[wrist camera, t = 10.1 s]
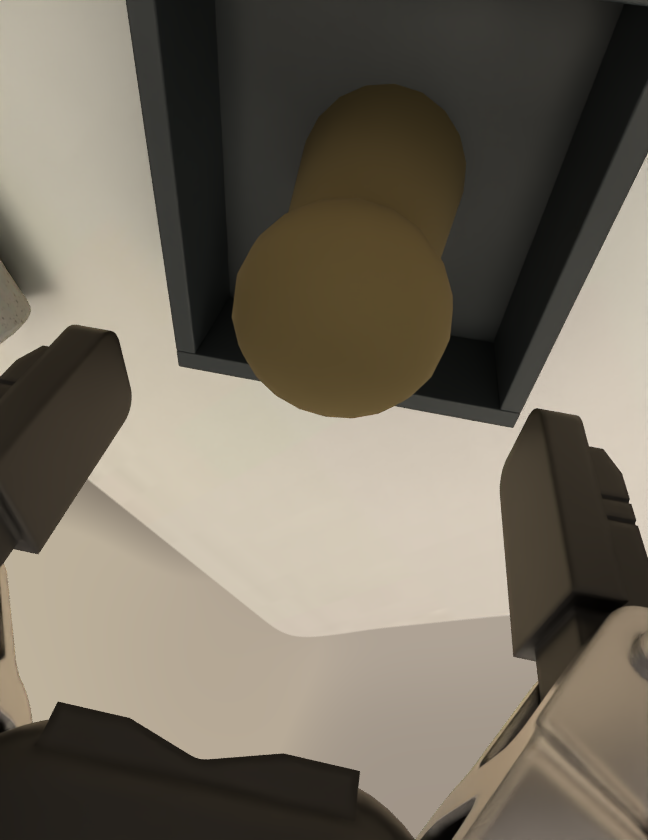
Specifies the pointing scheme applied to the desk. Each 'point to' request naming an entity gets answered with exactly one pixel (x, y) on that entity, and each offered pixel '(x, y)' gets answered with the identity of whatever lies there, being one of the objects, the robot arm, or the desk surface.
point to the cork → (357, 259)
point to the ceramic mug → (11, 305)
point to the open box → (470, 114)
